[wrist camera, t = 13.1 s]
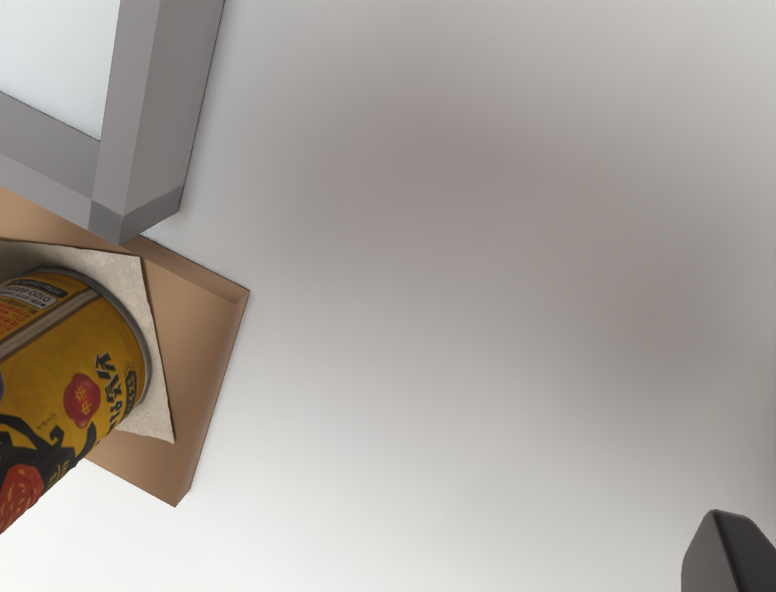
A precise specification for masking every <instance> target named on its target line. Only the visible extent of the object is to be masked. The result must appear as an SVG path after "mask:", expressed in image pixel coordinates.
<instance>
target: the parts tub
mask: <svg viewBox="0 0 776 592" xmlns="http://www.w3.org/2000/svg"><path fill="white" fill-rule="evenodd" d="M223 5H224V0H121V1H120V8H119V15H118V22H117V29H116V36H115V43H114V50H113V56H112V63H111V70H110V77H109V84H108V91H107V98H106V105H105V112H104V119H103V126H102V133H101V140H100V141H98V140H96V139H94V138H92V137H90V136H88V135H86V134H84V133H82V132H80V131H78V130H76V129H74V128H72V127H70V126H68V125H66V124H64V123H62V122H60V121H58V120H56V119H54V118H52V117H50V116H48V115H46V114H44V113H42V112H40V111H38V110H36V109H34V108H32V107H30V106H28V105H26V104H24V103H22V102H20V101H18V100H16V99H14V98H12V97H10V96H8V95H6V94H4V93H2V92H0V186H2V187H4V188H6V189H8V190H10V191H12V192H14V193H16V194H18V195H20V196H21V197H23V198H25V199H27V200H29V201H31V202H33V203H35V204H37V205H39V206H41V207H43V208H45V209H47V210H49V211H51V212H53V213H55V214H56V215H58V216H60V217H62V218H64V219H66V220H68V221H70V222H72V223H74V224H76V225H78V226H80V227H82V228H84V229H86V230H88V231H89V232H91V233H93V234H95V235H97V236H99V237H101V238H103V239H105V240H107V241H109V242H111V243H113V244H115V245H117V246H119V245H121V244H123V243H124V242H126V241H128V240H130V239H131V238H133V237H135V236H136V235H138V234H140V233H142V232H143V231H145V230H147V229H148V228H150V227H152V226H154V225H155V224H157V223H159V222H160V221H162V220H164V219H166V218H167V217H169V216H171V215H172V214H174V213H176V212H178V209H179V205H180V200H181V195H182V191H183V186H184V182H185V177H186V173H187V168H188V164H189V159H190V155H191V150H192V146H193V141H194V136H195V132H196V127H197V123H198V118H199V114H200V109H201V105H202V100H203V96H204V91H205V86H206V82H207V77H208V73H209V68H210V64H211V59H212V55H213V50H214V46H215V41H216V36H217V32H218V27H219V23H220V18H221V14H222V9H223Z"/></svg>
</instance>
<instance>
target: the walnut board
mask: <svg viewBox="0 0 776 592" xmlns="http://www.w3.org/2000/svg"><path fill="white" fill-rule="evenodd" d="M0 240H2V241H8V242H27V243H36V244H47V245H50V246H53V245H56V246H64V247H72V248H76V249H80V250H83V249H86V250H95V251H101V252H107V253H114V254H121V255H127V256H136V257H140V264H141V270H142V276H143V281H144V286H145V291H146V297H147V302H148V304H149V306H150V313H151V315H152V319H153V324H154V328H155V335H156V339H157V344H158V350H159V354H160V358H161V363H162V369H163V376H164V382H165V386H166V393H167V398H168V401H167V402H168V408H169V411H170V421H171V426H172V432H173V437H174V444H172V443H170V442H169V441H166V440H162V439H159V438H154V437H151V436H142V435H139V434H136V433H132V432H127V431H120V430H116V429H113V431H112V432H111V433H110V434H108V435H107V436H106V437H105V438H104V439H102V440H101V441H100V442H99V443H98V445H97V446H95V447H94V448H93V449H92V451H91V452H90V453H89V454H88V455H86V456H85V457H84V458H86V459H87V460H89V461H91V462H93V463H95V464H96V465H98V466H100V467H102V468H104V469H106V470H107V471H109V472H111V473H113V474H115V475H116V476H118V477H120V478H122V479H124V480H126V481H127V482H129V483H131V484H133V485H135V486H137V487H138V488H140V489H142V490H144V491H146V492H147V493H149V494H151V495H153V496H155V497H157V498H158V499H160V500H162V501H164V502H166V503H167V504H169V505H171V506H173V507H176V506H177V505H178V503H179V502H180V501H181V500H182V499H183V497H184V496H185V495H186V494H187V492H188V491H189V489H190V486H191V483H192V479H193V476H194V473H195V470H196V466H197V463H198V460H199V456H200V453H201V450H202V446H203V443H204V440H205V437H206V433H207V430H208V427H209V423H210V420H211V417H212V413H213V410H214V407H215V404H216V400H217V397H218V394H219V390H220V387H221V384H222V381H223V377H224V374H225V371H226V367H227V364H228V361H229V357H230V354H231V351H232V348H233V344H234V341H235V338H236V334H237V331H238V328H239V325H240V321H241V318H242V315H243V311H244V308H245V305H246V301H247V298H248V295H249V292H250V291H248V290H246V289H244V288H242V287H240V286H238V285H236V284H235V283H233V282H231V281H229V280H227V279H225V278H223V277H221V276H219V275H217V274H215V273H213V272H211V271H209V270H207V269H205V268H203V267H201V266H199V265H197V264H195V263H193V262H191V261H190V260H188V259H186V258H184V257H182V256H180V255H178V254H176V253H174V252H172V251H170V250H168V249H166V248H164V247H162V246H160V245H158V244H156V243H154V242H152V241H150V240H148V239H147V238H145V237H143V236H141V235H139V234H138V235H136V236H135V237H133V238H131V239H130V240H128V241H126V242H124V243H123V244H121V245H119V246H117V245H115V244H113V243H111V242H109V241H107V240H105V239H103V238H101V237H99V236H97V235H95V234H93V233H91V232H89V231H88V230H86V229H84V228H82V227H80V226H78V225H76V224H74V223H72V222H70V221H68V220H66V219H64V218H62V217H60V216H58V215H56V214H55V213H53V212H51V211H49V210H47V209H45V208H43V207H41V206H39V205H37V204H35V203H33V202H31V201H29V200H27V199H25V198H23V197H21V196H20V195H18V194H16V193H14V192H12V191H10V190H8V189H6V188H4V187H2V186H0Z"/></svg>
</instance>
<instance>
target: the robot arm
mask: <svg viewBox="0 0 776 592" xmlns="http://www.w3.org/2000/svg"><path fill="white" fill-rule="evenodd" d="M4 390H5V385H4V380H3V376H2V372H1V368H0V403H1V401H2V398H3V395H4ZM681 592H776V549H775V548H774V546H773V545H772V544H771V543H770V541H769V540H768V539H767V538H766V536H765V535H764V534H763V533H762V532H761V530H760V529H759V528H758V527H757V525H756V524H755V523H754V522H753V521H752V520H751V519H749V518H748V517H746V516H743V515H738V514H734V513H730V512H726V511H722V510H717V509H715V510H710V511H709V512H708V513H706V515H705V516H704V518H703V520H702V522H701V524H700V526H699V528H698V530H697V532H696V534H695V536H694V538H693V540H692V541H691V543H690V545H689V547H688V549H687V551H686V553H685V556H684V559H683V564H682V571H681Z"/></svg>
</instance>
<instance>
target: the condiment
mask: <svg viewBox="0 0 776 592" xmlns="http://www.w3.org/2000/svg"><path fill="white" fill-rule="evenodd" d="M0 368H1V372H2V376H3V380H4V385H5V390H4V395H3V398H2V401H1V403H0V534H1V533H3V532H4V531H5V530H6V529H7V528H8V527H9V526H10V525H12V524H13V523H14V522H15V521H16V520H17V519H18V518H19V517H20V516H21V515H23V514H24V513H25V511H26V510H27V509H29V508H31V507H32V506H33V505H34V504H35V503H36V502H37V501H38V499H39V498H40V497H41V496H43V495H44V494H45V493H46V492H47V491H48V490H49V489H50V488H51V487H52V486H53V485H54V484H55V483H57V482H58V481H59V480H60V479H61V478H62V477H63V476H65V475H66V474H67V472H68V471H69V470H70V469H72V468H74V467H75V466H76V465H77V463H78V462H79V461H80V460H81V459H83V458H84V457H85V456H86V455H88V454H89V453H90V452H91V451H92V449H93V448H94V447H95V446H97V445H98V443H99V442H100V441H101V440H102V439H104V438H105V437H106V436H107V435H108V434H110V433H111V432H112V431H113V429H116V430H120V431H127V432H132V433H136V434H139V435H142V436H151V437H154V438H159V439H162V440H166V441H169V442H170V443H172V444H174V437H173V432H172V426H171V421H170V411H169V408H168V402H167V401H168V398H167V393H166V386H165V382H164V376H163V369H162V363H161V358H160V354H159V350H158V344H157V339H156V335H155V328H154V324H153V319H152V315H151V313H150V306H149V304H148V302H147V297H146V291H145V286H144V281H143V276H142V270H141V264H140V257H136V256H127V255H121V254H114V253H107V252H101V251H95V250H86V249H83V250H80V249H76V248H72V247H64V246H56V245H53V246H50V245H47V244H36V243H27V242H8V241H2V240H0Z"/></svg>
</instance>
